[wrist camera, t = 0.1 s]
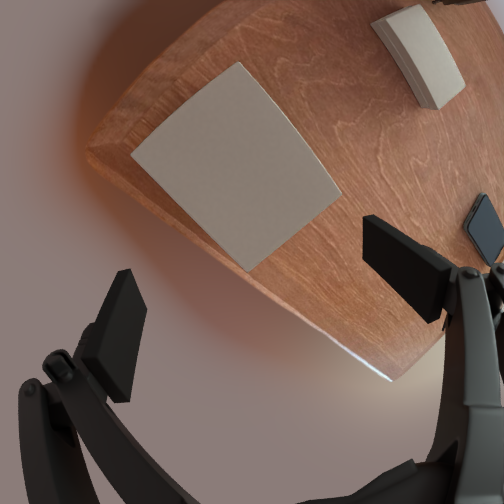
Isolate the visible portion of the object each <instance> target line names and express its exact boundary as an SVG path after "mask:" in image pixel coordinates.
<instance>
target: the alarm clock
mask: <svg viewBox="0 0 504 504" xmlns="http://www.w3.org/2000/svg"><path fill="white" fill-rule="evenodd" d="M481 1H486V0H435V1H432V3H433V4H436V3H438V2H443V4H444V5H450V4H455V5H464V4H470V3H476V2H481Z"/></svg>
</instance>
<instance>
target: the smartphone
mask: <svg viewBox="0 0 504 504" xmlns="http://www.w3.org/2000/svg"><path fill="white" fill-rule="evenodd" d="M464 230H465V232H466V233H467V235H468V236H469V238H470V239H471V241H472V242H473V244H474V245H475V247H476V249H477V250H478V252H479V253H480V255H481V257H482V258H483V260H484V262H485V263H486V265H487V266H489V267H491V265H492V264H493V263H494V262H495V261H496V259H497V258H498V256H499V254H500V252H501V250H502V249H503V247H504V228H503V226H502V224H501V222H500V219H499V217H498V215H497V213H496V211H495V209H494V207H493V205H492V203H491V201H490V199H489V198H488V196H487V194H485V193H481V194H480V195H479V196H478V198H477V200H476V202H475V204H474V206H473V208H472V209H471V211H470V213H469V215H468V217H467V218H466V220H465V222H464Z"/></svg>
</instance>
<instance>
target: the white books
mask: <svg viewBox="0 0 504 504" xmlns="http://www.w3.org/2000/svg"><path fill="white" fill-rule="evenodd" d="M370 25H371V27H372V28H373V29H374V31H375V32H376V33H377V35H378V36H379V38H380V39H381V41H382V42H383V43H384V45H385V46H386V48H387V49H388V51H389V52H390V54H391V55H392V57H393V59H394V60H395V62H396V63H397V65H398V67H399V68H400V70H401V71H402V73H403V75H404V77H405V78H406V80H407V82H408V84H409V85H410V87H411V89H412V91H413V93H414V94H415V96H416V98H417V100H418V102H419V104H420V106H421V108H430V109H431V110H439V109H440V108H441V107H443V106H444V105H445V104H446V103H447V102H448V101H450V100H451V99H452V98H453V97H454V96H455V95H456V94H458V93H459V92H460V91H461V90H462V89H463V88H464V87H466V85H465V83H464V81H463V78H462V76H461V74H460V72H459V70H458V68H457V66H456V64H455V62H454V60H453V58H452V56H451V54H450V52H449V50H448V48H447V46H446V45H445V43H444V41H443V39H442V38H441V36H440V34H439V32H438V31H437V29H436V28H435V26H434V24H433V23H432V21H431V20H430V18H429V16H428V15H427V13H426V12H425V10H424V9H423V8H422V6H421V5H420V4H418V5H415V6H408V7H405V8H403V9H400V10H398V11H396V12H394V13H391V14H389V15H387V16H385V17H383V18H381V19H379V20H377V21H375V22H373V23H371V24H370Z"/></svg>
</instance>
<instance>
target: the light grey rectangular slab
mask: <svg viewBox="0 0 504 504" xmlns="http://www.w3.org/2000/svg"><path fill="white" fill-rule="evenodd" d="M130 155H131V157H132V158H133V159H134V160H135V161H136V162H137V163H138V164H139V165H140V166H141V167H142V168H143V169H144V170H145V171H146V172H147V173H148V174H149V175H150V176H151V177H152V178H153V179H154V180H155V181H156V182H157V183H158V184H159V185H160V186H161V187H162V188H163V189H164V190H165V191H166V192H167V193H168V194H169V195H170V196H171V197H172V199H173V200H174V201H175V202H176V203H177V204H178V205H179V206H180V207H181V208H182V209H183V210H184V211H185V212H186V213H187V214H188V215H189V216H190V217H191V218H192V219H193V220H194V221H195V222H196V223H197V224H198V225H199V226H200V227H201V228H202V229H203V230H204V231H205V232H206V233H207V234H208V235H209V236H210V237H211V238H212V239H213V240H214V241H215V242H216V243H217V244H218V245H219V246H220V247H221V248H222V249H223V250H224V251H225V252H227V253H228V254H229V255H230V256H231V257H232V258H233V259H234V260H235V261H236V262H237V263H238V264H239V265H240V266H241V267H242V268H243V269H244V270H245V271H246V272H247V273H248V272H249V271H250V270H252V269H253V268H254V267H255V266H257V265H258V264H259V263H260V262H261V261H263V260H264V259H265V258H266V257H268V256H269V255H270V254H271V253H272V252H274V251H275V250H276V249H277V248H279V247H280V246H281V245H282V244H283V243H285V242H286V241H287V240H288V239H289V238H291V237H292V236H293V235H294V234H295V233H297V232H298V231H299V230H300V229H302V228H303V227H304V226H305V225H306V224H308V223H309V222H310V221H311V220H312V219H314V218H315V217H316V216H317V215H318V214H320V213H321V212H322V211H323V210H324V209H326V208H327V207H328V206H329V205H330V204H332V203H333V202H334V201H335V200H336V199H338V198H339V197H340V196H341V195H342V193H341V191H340V190H339V188H338V187H337V185H336V184H335V182H334V181H333V179H332V178H331V177H330V175H329V174H328V172H327V171H326V169H325V168H324V166H323V165H322V164H321V162H320V161H319V159H318V158H317V157H316V155H315V154H314V152H313V151H312V150H311V148H310V147H309V146H308V144H307V143H306V142H305V140H304V139H303V138H302V136H301V135H300V134H299V132H298V131H297V130H296V128H295V127H294V126H293V124H292V123H291V122H290V121H289V119H288V118H287V117H286V116H285V114H284V113H283V112H282V111H281V109H280V108H279V107H278V106H277V105H276V103H275V102H274V101H273V100H272V99H271V97H270V96H269V95H268V94H267V93H266V91H265V90H264V89H263V88H262V87H261V86H260V84H259V83H258V82H257V81H256V80H255V79H254V78H253V76H252V75H251V74H250V73H249V72H248V71H247V70H246V69H245V68H244V67H243V65H242V64H241V63H240V62H239V61H237V62H236V63H235V64H233V65H232V66H230V67H229V68H228V69H226V70H225V71H224V72H222V73H221V74H220V75H218V76H217V77H216V78H214V79H213V80H212V81H210V82H209V83H208V84H207V85H205V86H204V87H203V88H202V89H200V90H199V91H198V92H197V93H195V94H194V95H193V96H192V97H191V98H189V99H188V100H187V101H186V102H185V103H184V104H182V105H181V106H180V107H179V108H178V109H177V110H176V111H174V112H173V113H172V114H171V115H170V116H169V117H168V118H167V119H166V120H165V121H163V122H162V123H161V124H160V125H159V126H158V127H157V128H156V129H155V130H154V131H153V132H152V133H151V134H150V135H149V136H148V137H147V138H146V139H145V140H144V141H143V142H142V143H141V144H140V145H139V146H138V147H137V148H136V149H135V150H134V151H133V152H132V153H131V154H130Z"/></svg>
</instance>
